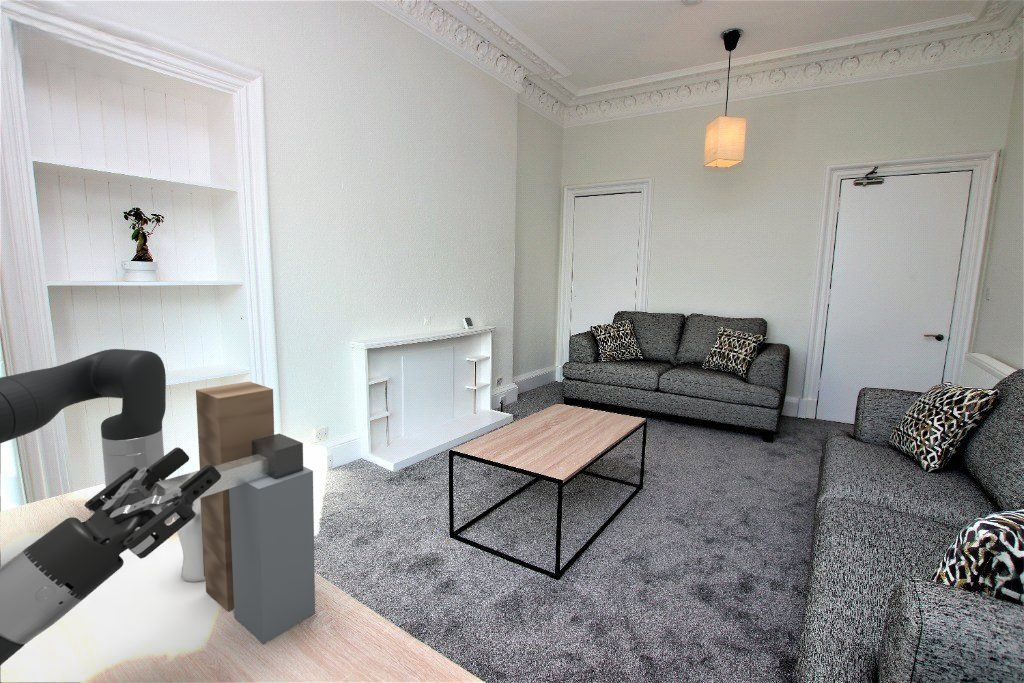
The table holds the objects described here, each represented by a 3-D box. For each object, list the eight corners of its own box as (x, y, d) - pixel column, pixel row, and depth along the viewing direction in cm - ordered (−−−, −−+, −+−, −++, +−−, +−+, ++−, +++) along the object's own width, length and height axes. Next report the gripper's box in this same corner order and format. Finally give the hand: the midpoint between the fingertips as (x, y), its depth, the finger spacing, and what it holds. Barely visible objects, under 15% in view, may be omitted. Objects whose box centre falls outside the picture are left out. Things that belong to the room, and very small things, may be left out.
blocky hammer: (151, 497, 58) (149, 466, 57) (280, 459, 71) (279, 433, 70) (172, 513, 54) (170, 480, 54) (303, 470, 67) (302, 442, 67)
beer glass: (168, 575, 78) (163, 487, 76) (212, 553, 84) (208, 472, 82) (193, 589, 74) (188, 498, 72) (237, 566, 81) (233, 481, 78)
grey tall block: (234, 618, 69) (228, 472, 66) (285, 590, 75) (281, 456, 72) (263, 644, 64) (258, 489, 61) (315, 613, 71) (312, 470, 67)
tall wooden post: (205, 592, 74) (195, 389, 70) (255, 568, 80) (249, 381, 76) (227, 611, 70) (218, 398, 66) (278, 585, 76) (273, 389, 72)
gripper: (58, 571, 54) (192, 466, 65) (99, 628, 46) (245, 497, 57) (4, 531, 51) (157, 426, 61) (39, 586, 42) (208, 453, 53)
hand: (199, 460), depth 59 cm, fingers open, 8 cm apart
